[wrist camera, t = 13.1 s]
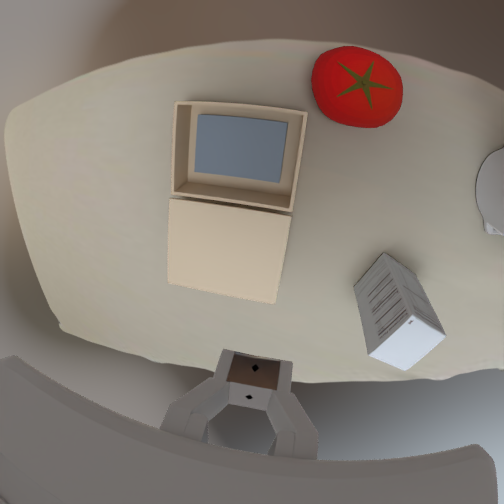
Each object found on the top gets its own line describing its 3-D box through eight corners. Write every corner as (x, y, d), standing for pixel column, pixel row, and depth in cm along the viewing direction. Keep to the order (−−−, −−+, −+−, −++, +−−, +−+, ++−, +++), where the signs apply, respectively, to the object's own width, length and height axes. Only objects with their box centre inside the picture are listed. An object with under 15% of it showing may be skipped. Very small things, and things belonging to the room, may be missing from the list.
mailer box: (306, 112, 37) (307, 112, 31) (293, 199, 44) (292, 212, 38) (190, 101, 38) (174, 101, 33) (185, 183, 45) (171, 194, 40)
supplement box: (352, 287, 49) (364, 355, 35) (383, 250, 45) (411, 313, 30) (386, 307, 50) (405, 373, 36) (417, 274, 46) (448, 337, 31)
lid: (275, 304, 43) (275, 302, 44) (291, 216, 38) (291, 215, 39) (167, 282, 45) (169, 281, 46) (169, 198, 40) (171, 197, 40)
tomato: (310, 50, 32) (313, 31, 23) (390, 63, 30) (415, 51, 21) (308, 120, 37) (311, 122, 28) (387, 131, 35) (412, 138, 26)
